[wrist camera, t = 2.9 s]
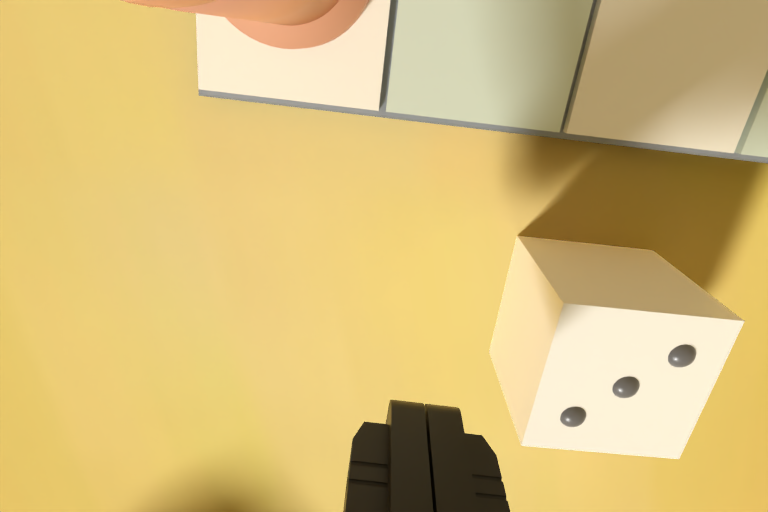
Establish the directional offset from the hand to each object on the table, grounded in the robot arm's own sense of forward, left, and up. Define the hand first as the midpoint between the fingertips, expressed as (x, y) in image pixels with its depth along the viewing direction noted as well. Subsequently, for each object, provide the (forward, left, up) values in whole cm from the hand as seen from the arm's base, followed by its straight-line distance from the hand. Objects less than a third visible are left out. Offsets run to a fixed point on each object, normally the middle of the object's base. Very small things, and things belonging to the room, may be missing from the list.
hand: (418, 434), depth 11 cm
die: (+6, 0, -6) cm, 8 cm away
